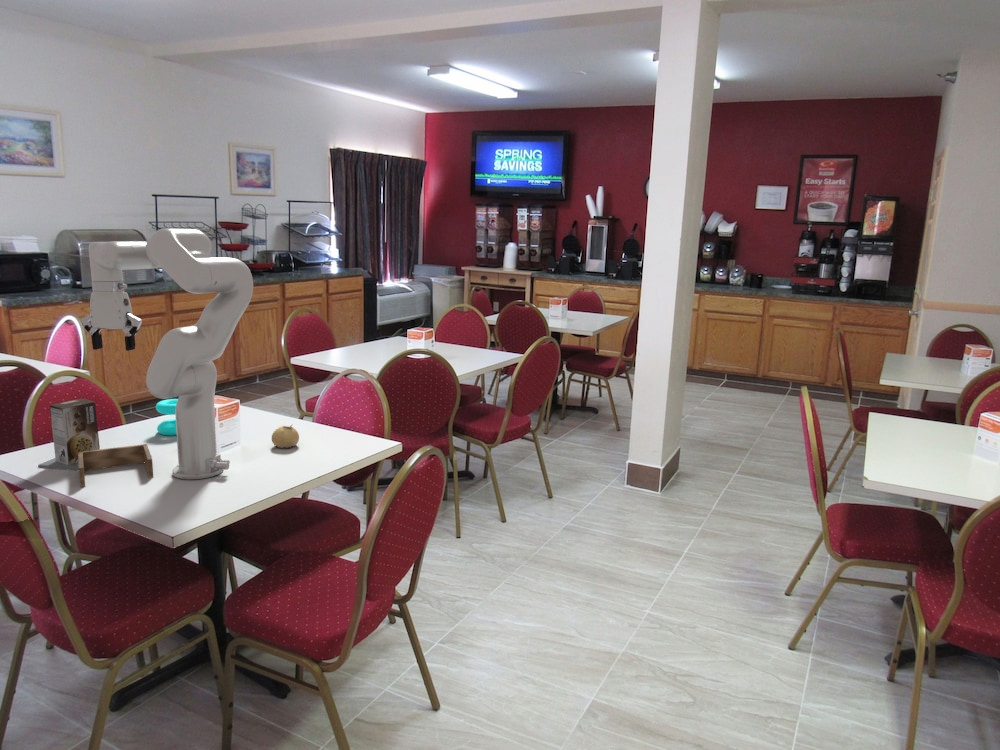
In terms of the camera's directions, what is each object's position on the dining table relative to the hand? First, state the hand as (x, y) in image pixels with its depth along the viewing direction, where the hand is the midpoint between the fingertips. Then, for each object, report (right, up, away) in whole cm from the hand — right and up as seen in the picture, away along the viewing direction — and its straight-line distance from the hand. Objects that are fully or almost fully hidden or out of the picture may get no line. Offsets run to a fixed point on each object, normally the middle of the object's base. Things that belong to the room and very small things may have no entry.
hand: (114, 349), depth 193 cm
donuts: (+4, -26, +29) cm, 39 cm away
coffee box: (-9, -31, -1) cm, 32 cm away
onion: (+42, -29, +18) cm, 54 cm away
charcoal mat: (-9, -31, -1) cm, 32 cm away
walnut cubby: (+6, -33, -10) cm, 35 cm away
